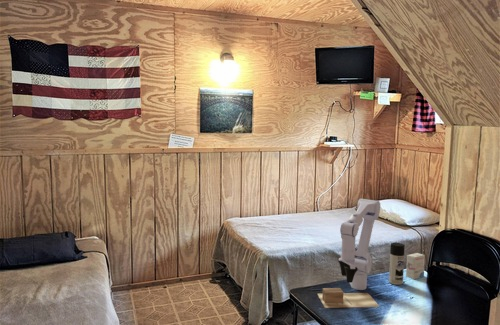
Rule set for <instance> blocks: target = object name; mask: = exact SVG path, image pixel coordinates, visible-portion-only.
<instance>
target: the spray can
mask: <svg viewBox="0 0 500 325" xmlns="http://www.w3.org/2000/svg"><path fill="white" fill-rule="evenodd" d="M405 247H406V246H405V244H403V243H401V242H397V241H396V242H391V243H390V250H389V251H390V252H389V269H388V270H389V271H388V272H389V273H388V274H389V275H388V282H389V283H390V284H391V285H394V286H401V285H403V283H404V271H405V270H404V269H405V268H404V266H405V265H404V264H405Z"/></svg>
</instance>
